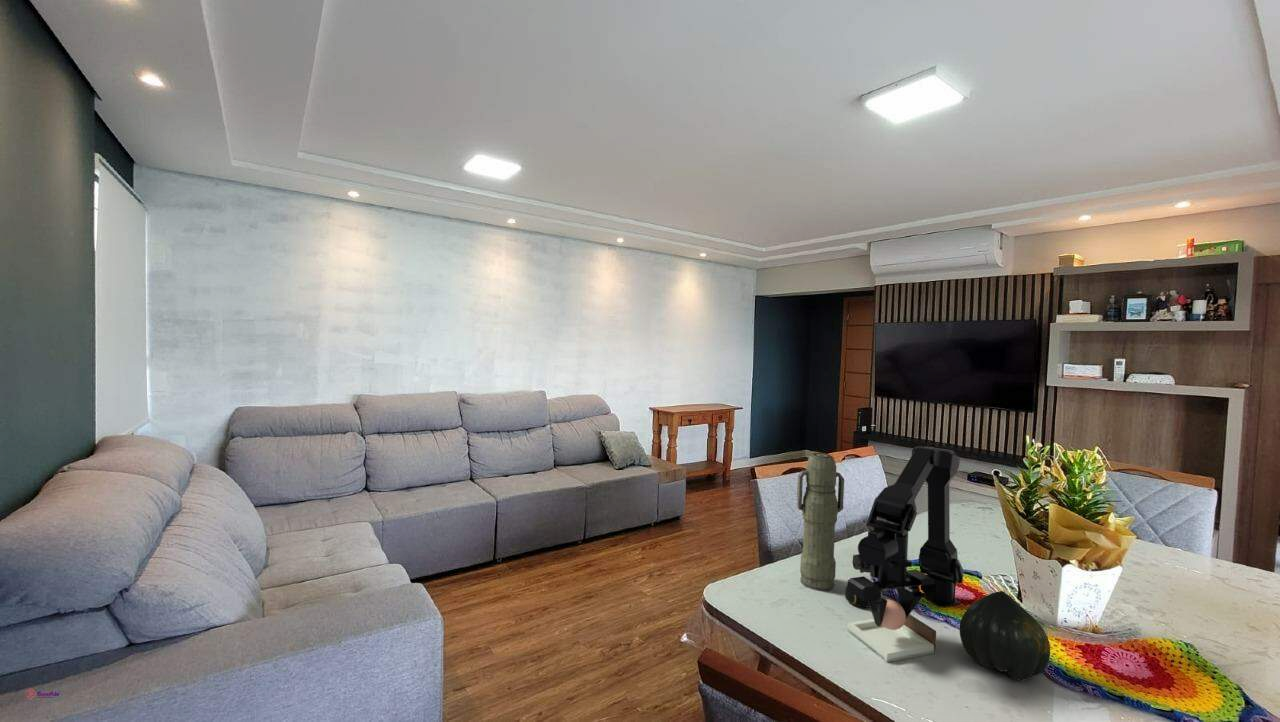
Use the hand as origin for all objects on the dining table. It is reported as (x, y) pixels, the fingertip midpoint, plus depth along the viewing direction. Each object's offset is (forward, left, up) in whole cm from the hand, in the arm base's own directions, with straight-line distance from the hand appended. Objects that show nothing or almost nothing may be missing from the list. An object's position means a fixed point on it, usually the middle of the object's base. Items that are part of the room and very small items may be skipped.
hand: (889, 623), depth 114 cm
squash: (-16, +13, -4) cm, 21 cm away
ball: (0, 0, -1) cm, 1 cm away
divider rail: (-7, -2, -4) cm, 8 cm away
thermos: (-2, -28, -4) cm, 28 cm away
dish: (0, 0, -4) cm, 4 cm away
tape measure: (-6, -16, -4) cm, 18 cm away
